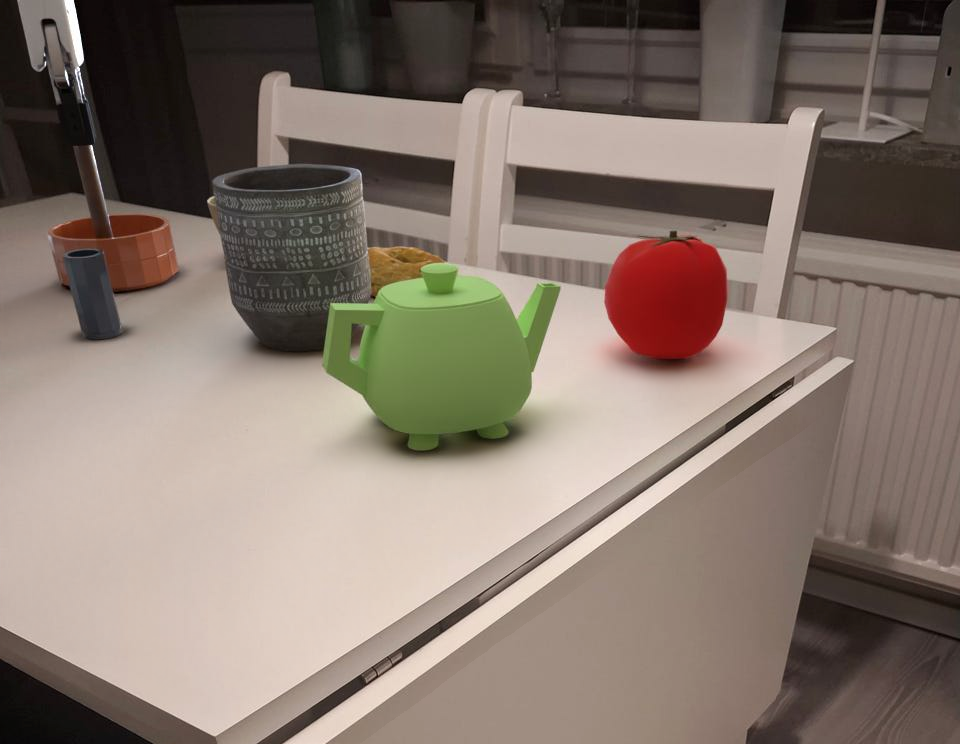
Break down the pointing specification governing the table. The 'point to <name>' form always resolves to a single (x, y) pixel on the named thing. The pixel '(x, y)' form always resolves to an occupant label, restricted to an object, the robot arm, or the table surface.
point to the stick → (93, 191)
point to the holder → (92, 293)
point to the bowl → (121, 248)
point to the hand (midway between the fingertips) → (81, 142)
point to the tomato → (667, 296)
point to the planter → (293, 248)
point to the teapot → (441, 353)
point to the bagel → (397, 265)
